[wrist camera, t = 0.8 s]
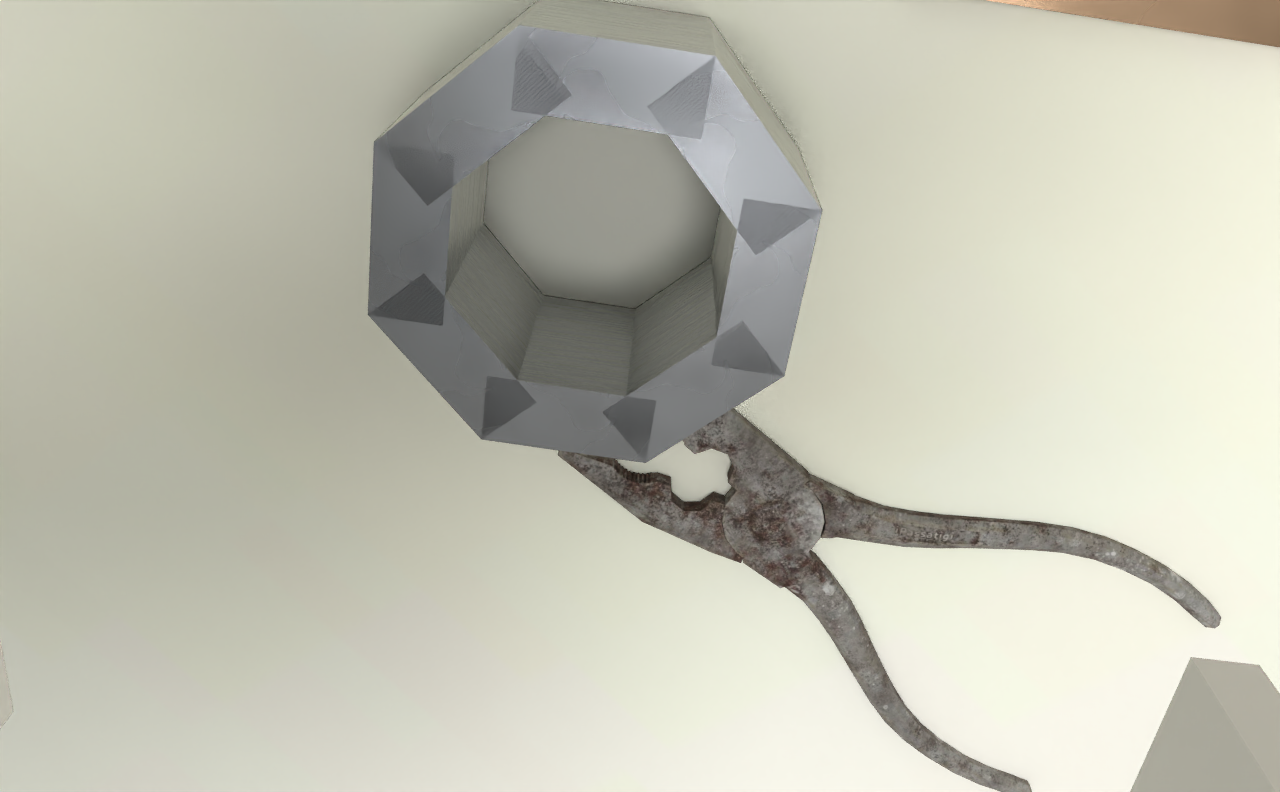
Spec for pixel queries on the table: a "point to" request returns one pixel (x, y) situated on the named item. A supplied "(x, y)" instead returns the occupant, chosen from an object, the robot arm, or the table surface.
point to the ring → (577, 330)
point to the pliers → (793, 522)
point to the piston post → (1181, 15)
